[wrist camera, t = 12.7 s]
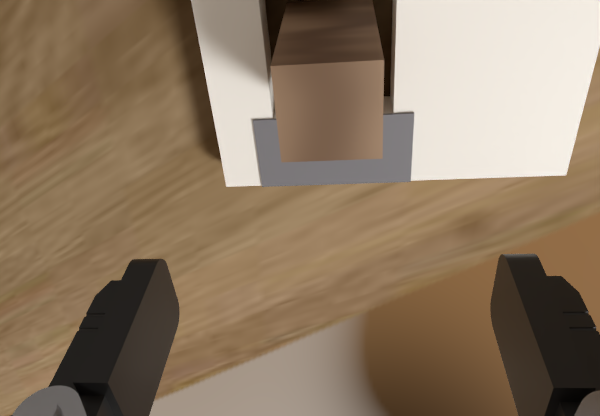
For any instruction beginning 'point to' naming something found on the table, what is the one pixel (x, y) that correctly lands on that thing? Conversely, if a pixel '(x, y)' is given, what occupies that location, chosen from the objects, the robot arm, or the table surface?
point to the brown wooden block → (329, 82)
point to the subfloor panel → (419, 91)
